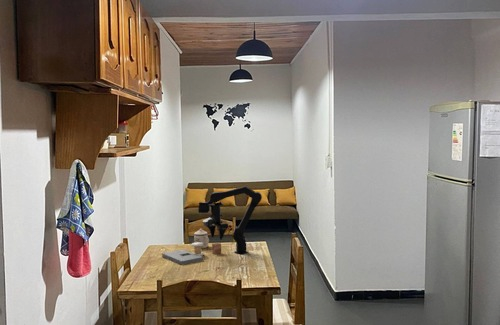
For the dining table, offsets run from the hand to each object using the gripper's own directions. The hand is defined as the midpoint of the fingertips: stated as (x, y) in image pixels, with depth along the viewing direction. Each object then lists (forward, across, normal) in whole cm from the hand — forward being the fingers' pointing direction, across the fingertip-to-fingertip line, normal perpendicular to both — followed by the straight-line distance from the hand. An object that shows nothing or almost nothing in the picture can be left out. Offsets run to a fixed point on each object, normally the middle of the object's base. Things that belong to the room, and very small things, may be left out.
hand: (216, 238), depth 285 cm
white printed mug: (+9, -20, +2) cm, 22 cm away
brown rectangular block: (+9, 0, 0) cm, 9 cm away
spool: (+9, -4, -11) cm, 15 cm away
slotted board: (+9, -3, -22) cm, 24 cm away
